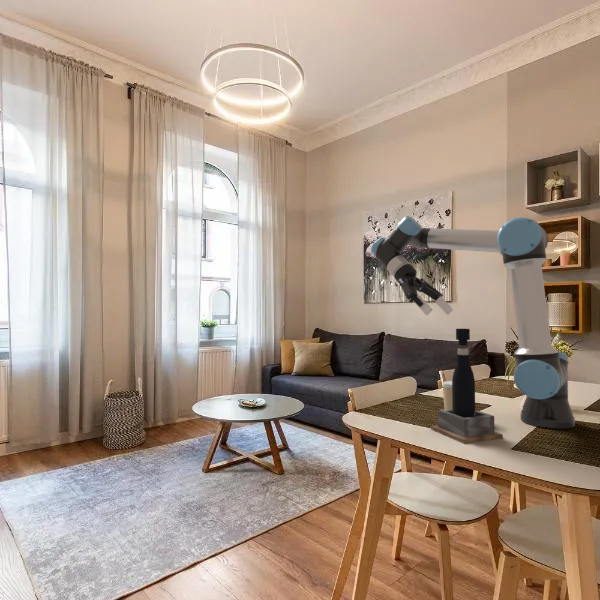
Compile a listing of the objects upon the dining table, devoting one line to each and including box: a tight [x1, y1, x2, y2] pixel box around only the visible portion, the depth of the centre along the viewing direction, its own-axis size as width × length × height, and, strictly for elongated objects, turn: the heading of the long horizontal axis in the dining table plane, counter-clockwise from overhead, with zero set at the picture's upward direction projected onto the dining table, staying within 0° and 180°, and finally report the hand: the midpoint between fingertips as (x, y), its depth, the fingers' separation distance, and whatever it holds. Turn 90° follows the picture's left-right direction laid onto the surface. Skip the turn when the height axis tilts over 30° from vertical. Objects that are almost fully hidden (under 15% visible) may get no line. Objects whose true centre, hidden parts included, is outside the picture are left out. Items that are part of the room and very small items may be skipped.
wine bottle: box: [451, 328, 476, 418], centre depth 124 cm, size 6×6×30 cm
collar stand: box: [430, 409, 504, 444], centre depth 124 cm, size 14×14×6 cm
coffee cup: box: [441, 380, 452, 410], centre depth 140 cm, size 9×9×12 cm
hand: (440, 312), depth 140 cm, fingers open, 13 cm apart
